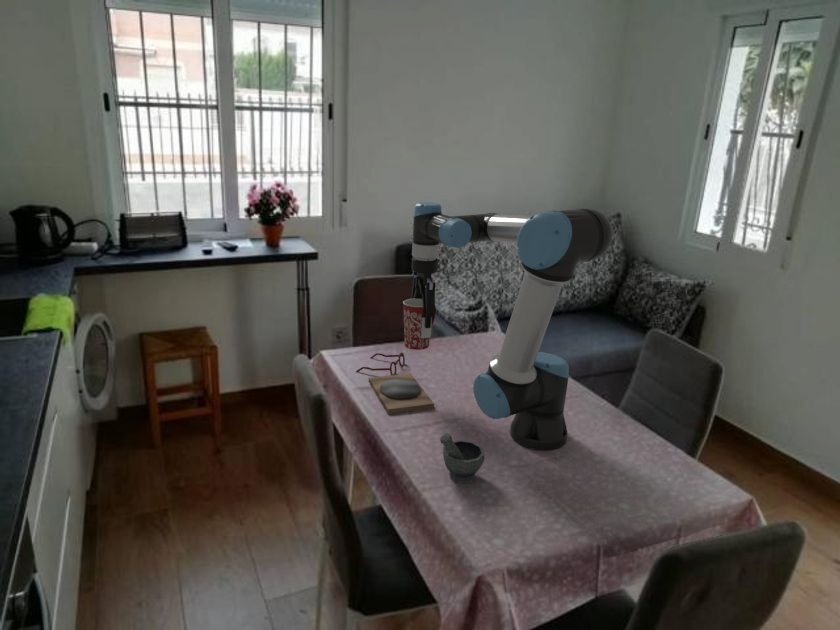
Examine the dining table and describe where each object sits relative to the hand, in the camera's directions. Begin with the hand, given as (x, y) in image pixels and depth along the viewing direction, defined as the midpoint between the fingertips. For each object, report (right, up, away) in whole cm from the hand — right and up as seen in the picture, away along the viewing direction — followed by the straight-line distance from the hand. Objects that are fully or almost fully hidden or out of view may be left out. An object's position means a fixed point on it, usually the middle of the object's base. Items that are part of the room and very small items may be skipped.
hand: (421, 331), depth 179 cm
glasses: (-14, -13, +23) cm, 30 cm away
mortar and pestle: (+9, -34, -35) cm, 50 cm away
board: (-6, -19, +4) cm, 21 cm away
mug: (0, -4, +2) cm, 4 cm away
